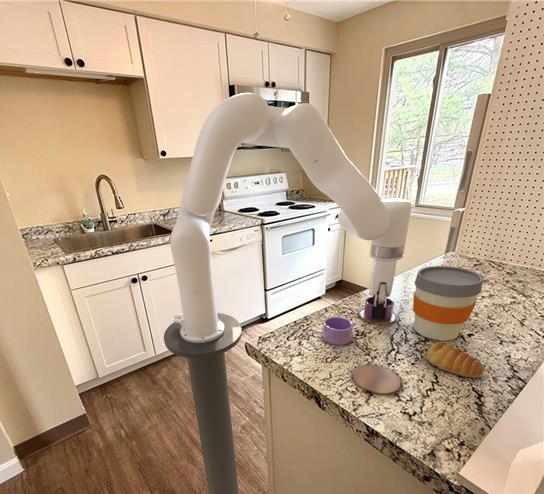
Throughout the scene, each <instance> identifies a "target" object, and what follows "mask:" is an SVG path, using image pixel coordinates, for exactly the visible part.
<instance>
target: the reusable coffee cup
mask: <svg viewBox="0 0 544 494" xmlns="http://www.w3.org/2000/svg"><path fill="white" fill-rule="evenodd" d="M415 277H416V278H415V279H414V285H415V290H414V292H413V297H412V299H413V301H412V311H413V313H414V327H413V328H414V330H415V331H416V333H418V334H419V335H421V336H422V337H425V338H427V339H431V340H436V341H453V340H455V339H457V338H458V336H459V334H460V333H461V330H462V329H463V326H464V324H465V323H466V322H467V321H468V320H469V319H470V316H471V315H472V313H473V310H474V308H475V306H476V305H477V300H476V299H477V297H478V296H479V294H481V292H482V289H483V282H484V277H483V276H482V275H481V274H480V273H478V272H476V271H473V270H470V269H468V268H463V267H456V266H448V265H432V266H431V265H430V266H426V267H422V268H420V269H419V270H418V271H417V274H416V276H415Z"/></svg>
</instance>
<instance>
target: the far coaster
mask: <svg viewBox="0 0 544 494" xmlns="http://www.w3.org/2000/svg"><path fill="white" fill-rule="evenodd" d="M364 310H365V308H364V309H362V310H361V311H360V312H359V317H360V319H362V320H363V321H364V322H367V323H369V324H374V325H390V324H393V323H394V322H395V321H396V315H395V314H394V313H392V317H391V319H389V320H387V321H375V320H371V319H369V318H367V317H366V316H365V315H364Z"/></svg>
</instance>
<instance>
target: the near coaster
mask: <svg viewBox="0 0 544 494" xmlns="http://www.w3.org/2000/svg"><path fill="white" fill-rule="evenodd" d="M352 380H353V381H354V383H355V384H356V385H357V386H358V387H359V388H361V389H362V390H364V391H366V392H369V393H372V394H375V395H391V394H394V393H396V392H398V391H399V390H400V388H401V386H402V383H401V380H400V378H399V376H398V375H397V374H396V373H395V372H394V371H392V370H390V369H388V368H386V367H383V366H380V365H375V364H364V365H363V364H362V365H360V366H357V367H356V368H354V370H353V371H352Z"/></svg>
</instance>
